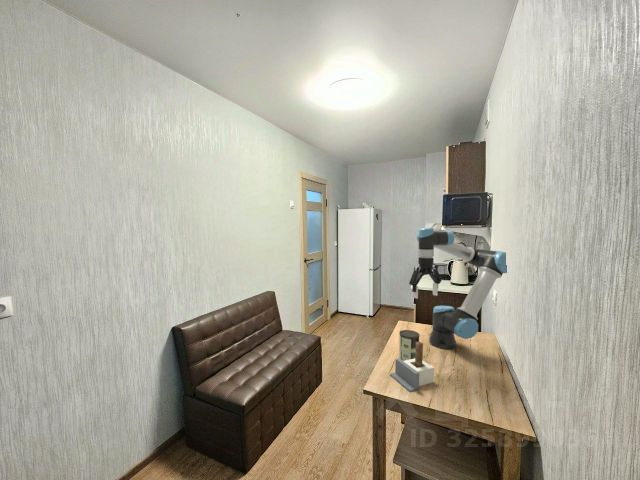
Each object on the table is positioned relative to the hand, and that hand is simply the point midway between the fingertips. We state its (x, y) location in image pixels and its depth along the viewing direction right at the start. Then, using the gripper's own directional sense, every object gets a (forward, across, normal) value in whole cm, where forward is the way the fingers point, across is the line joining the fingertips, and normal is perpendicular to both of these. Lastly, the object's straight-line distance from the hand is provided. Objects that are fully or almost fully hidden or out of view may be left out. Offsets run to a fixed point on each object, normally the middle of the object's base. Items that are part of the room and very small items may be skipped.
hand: (425, 296), depth 144 cm
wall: (+34, +25, +13) cm, 44 cm away
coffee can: (+34, +8, -3) cm, 35 cm away
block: (+34, +18, +14) cm, 41 cm away
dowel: (+33, +17, +14) cm, 40 cm away
